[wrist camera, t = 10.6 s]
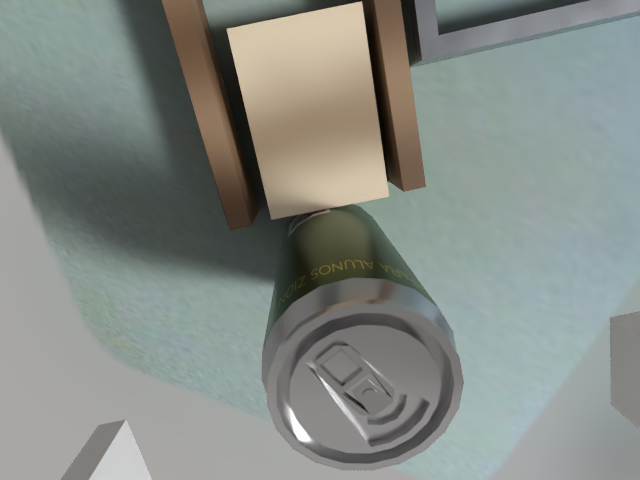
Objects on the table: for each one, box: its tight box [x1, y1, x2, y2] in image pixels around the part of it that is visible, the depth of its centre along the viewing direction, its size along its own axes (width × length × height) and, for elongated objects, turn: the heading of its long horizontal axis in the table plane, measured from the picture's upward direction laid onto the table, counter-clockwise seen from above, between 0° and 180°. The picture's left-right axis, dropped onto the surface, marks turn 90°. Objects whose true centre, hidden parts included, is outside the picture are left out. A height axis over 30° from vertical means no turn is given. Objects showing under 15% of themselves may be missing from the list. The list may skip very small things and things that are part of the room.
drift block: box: [227, 1, 389, 220], centre depth 18 cm, size 8×6×3 cm
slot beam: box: [162, 0, 426, 230], centre depth 17 cm, size 16×9×3 cm, turn 12°
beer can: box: [262, 204, 464, 470], centre depth 15 cm, size 5×5×12 cm
